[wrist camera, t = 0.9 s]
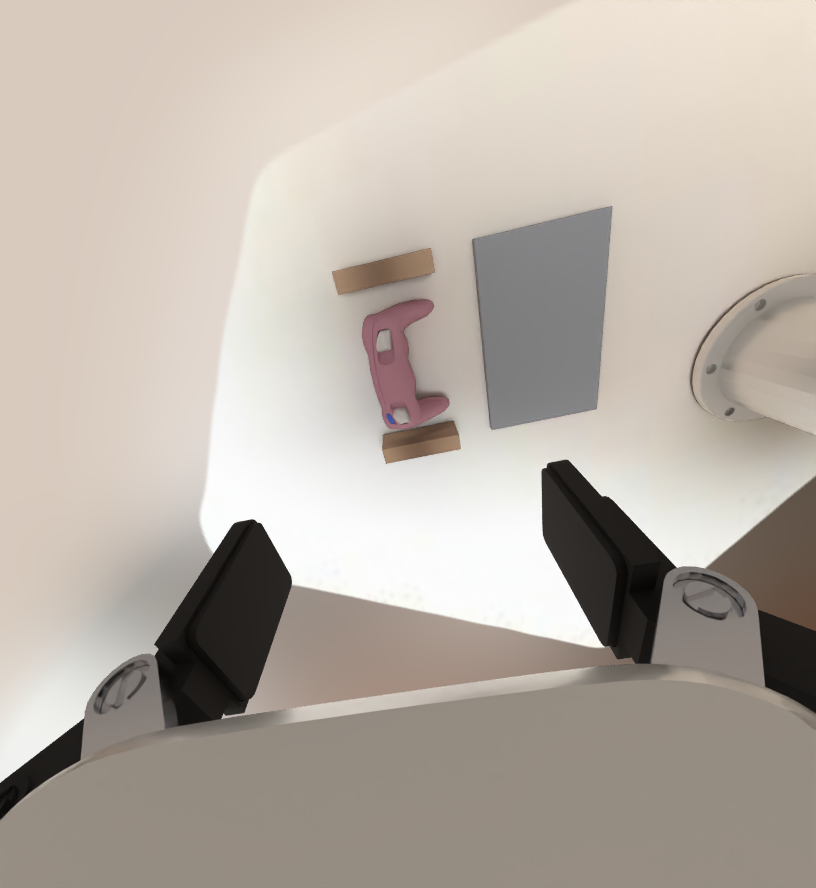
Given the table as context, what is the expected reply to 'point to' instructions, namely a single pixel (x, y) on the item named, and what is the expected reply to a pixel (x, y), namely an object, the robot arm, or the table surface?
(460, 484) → the table surface
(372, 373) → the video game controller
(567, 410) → the mat
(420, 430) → the dock
